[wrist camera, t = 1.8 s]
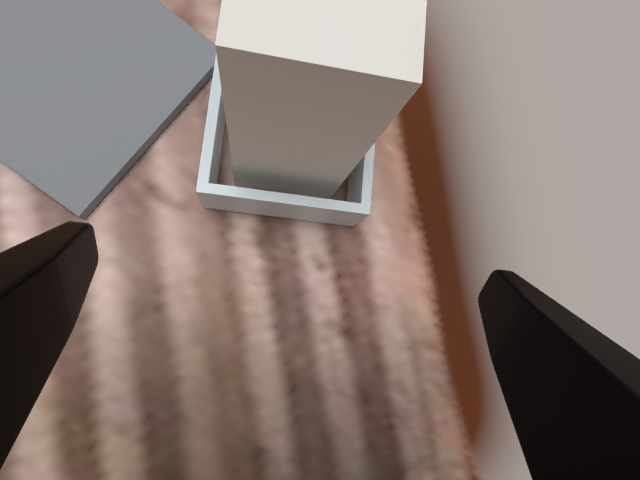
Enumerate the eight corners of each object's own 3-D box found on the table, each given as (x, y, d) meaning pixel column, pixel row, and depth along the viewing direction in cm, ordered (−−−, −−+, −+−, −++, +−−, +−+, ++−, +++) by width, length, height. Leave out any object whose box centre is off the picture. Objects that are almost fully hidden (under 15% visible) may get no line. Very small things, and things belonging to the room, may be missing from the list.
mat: (85, 219, 21) (78, 216, 20) (-112, 79, 20) (-126, 71, 20) (226, 60, 24) (225, 52, 23) (55, -69, 23) (48, -82, 22)
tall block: (329, 198, 24) (421, 83, 11) (235, 185, 23) (215, 45, 10) (337, 111, 24) (431, -90, 12) (246, 96, 24) (242, -139, 11)
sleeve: (352, 226, 24) (369, 214, 20) (204, 207, 22) (195, 191, 19) (363, 92, 25) (381, 60, 21) (224, 67, 24) (219, 29, 20)
